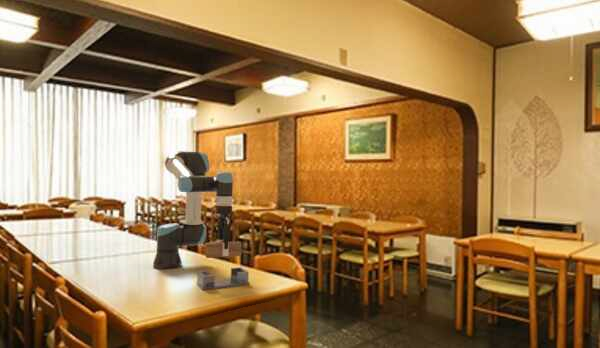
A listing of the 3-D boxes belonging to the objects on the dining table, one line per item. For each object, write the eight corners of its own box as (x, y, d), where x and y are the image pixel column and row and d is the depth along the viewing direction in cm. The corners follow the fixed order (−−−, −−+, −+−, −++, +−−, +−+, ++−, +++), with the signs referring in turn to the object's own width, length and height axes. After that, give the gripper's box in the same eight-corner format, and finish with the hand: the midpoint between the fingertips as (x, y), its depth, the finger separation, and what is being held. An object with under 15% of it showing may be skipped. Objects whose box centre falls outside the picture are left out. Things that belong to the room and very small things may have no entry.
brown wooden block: (205, 255, 186) (205, 243, 186) (238, 253, 192) (239, 241, 192) (207, 257, 181) (207, 244, 181) (241, 255, 187) (241, 243, 187)
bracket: (196, 284, 186) (196, 271, 186) (241, 279, 196) (241, 267, 196) (202, 290, 176) (202, 276, 176) (249, 284, 187) (249, 271, 187)
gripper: (211, 204, 193) (210, 252, 193) (222, 206, 177) (221, 259, 177) (226, 203, 196) (225, 250, 196) (238, 206, 180) (237, 257, 180)
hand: (223, 254), depth 186 cm, fingers closed on brown wooden block, 5 cm apart
